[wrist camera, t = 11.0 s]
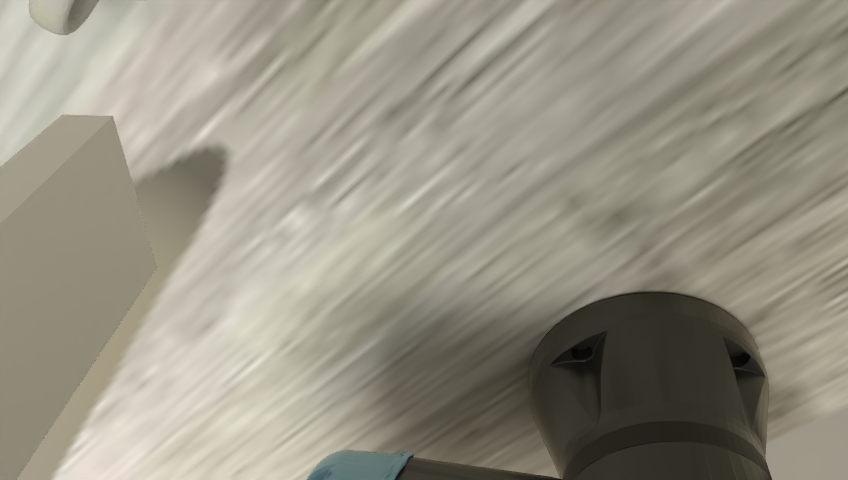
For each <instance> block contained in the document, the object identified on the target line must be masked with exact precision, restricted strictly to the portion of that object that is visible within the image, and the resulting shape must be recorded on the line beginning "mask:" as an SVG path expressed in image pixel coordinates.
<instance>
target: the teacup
mask: <svg viewBox="0 0 848 480" xmlns="http://www.w3.org/2000/svg"><path fill="white" fill-rule="evenodd" d="M98 1H99V0H30V1H29V13H30V16H31V18H32V19H33V20H34V21H35V22H36V23H37V24H38V25H39V26H40V27H42V28H44V29H46V30H48V31H50V32H52V33H55V34H58V35H68V34H70V33H72V32H74V31H76V30H77V29H78V28H79V27H80V26H81V25H82V24H83V22H84V21H85V20H86V19H87V18H88V16H89V15H90V14H91V12H92V11H93V9H94V7H95V6H96V4H97V3H98Z"/></svg>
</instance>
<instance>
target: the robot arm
mask: <svg viewBox="0 0 848 480" xmlns="http://www.w3.org/2000/svg"><path fill="white" fill-rule="evenodd" d="M156 268H157V266H156V262H155V259H154V255H153V252H152V248H151V245H150V242H149V238H148V235H147V231H146V228H145V225H144V221H143V218H142V214H141V211H140V208H139V204H138V201H137V197H136V194H135V190H134V187H133V184H132V180H131V177H130V173H129V170H128V166H127V163H126V160H125V156H124V153H123V149H122V146H121V143H120V139H119V136H118V132H117V129H116V125H115V122H114V119H113V116H90V115H62V116H60V117H59V118H58V119H57V120H56V121H54V122H53V123H52V124H51V125H50V126H49V127H47V128H46V129H45V130H44V131H43V132H41V133H40V134H39V135H38V136H37V137H36V138H34V139H33V140H32V141H31V142H30V143H28V144H27V145H26V146H25V147H24V148H23V149H21V150H20V151H19V152H18V153H17V154H15V155H14V156H13V157H12V158H11V159H10V160H8V161H7V162H6V163H5V164H4V165H2V166H1V167H0V480H17V478H18V477H19V475H20V474H21V472H22V471H23V469H24V468H25V466H26V465H27V463H28V462H29V460H30V459H31V457H32V456H33V454H34V452H35V451H36V450H37V448H38V446H39V445H40V444H41V442H42V441H43V439H44V438H45V436H46V435H47V433H48V431H49V430H50V428H51V427H52V425H53V424H54V422H55V421H56V419H57V418H58V416H59V415H60V413H61V412H62V410H63V409H64V407H65V406H66V404H67V403H68V401H69V400H70V398H71V397H72V395H73V394H74V392H75V391H76V389H77V387H78V386H79V385H80V383H81V381H82V380H83V379H84V377H85V376H86V374H87V373H88V371H89V370H90V368H91V366H92V365H93V364H94V362H95V361H96V359H97V357H98V356H99V354H100V353H101V351H102V350H103V348H104V347H105V345H106V344H107V342H108V341H109V339H110V338H111V336H112V335H113V333H114V332H115V330H116V329H117V327H118V326H119V324H120V323H121V321H122V320H123V318H124V317H125V315H126V314H127V312H128V311H129V309H130V308H131V306H132V305H133V303H134V301H135V300H136V299H137V297H138V296H139V294H140V293H141V291H142V289H143V288H144V287H145V285H146V283H147V282H148V280H149V279H150V277H151V276H152V274H153V273H154V271H155V270H156ZM529 388H530V405H531V410H532V414H533V417H534V420H535V422H536V425H537V427H538V429H539V431H540V434H541V436H542V438H543V440H544V442H545V445H546V447H547V449H548V451H549V453H550V456H551V458H552V460H553V462H554V464H555V467H556V469H557V471H558V473H559V475H560V478H561V479H557V478H552V477H548V476H541V475H533V474H526V473H519V472H512V471H505V470H498V469H491V468H484V467H476V466H469V465H462V464H455V463H448V462H441V461H434V460H427V459H420V458H414V454H413V453H412V452H403V453H402V454H400V455H399V454H388V453H377V452H366V451H355V450H344V451H339V452H336V453H333V454H331V455H329V456H327V457H326V458H325V459H323V460H322V461H321V462H320V463H319V464H318V465H317V466H316V467H315V468H314V469H313V471H312V472H311V474H310V475H309V476H308V478H307V480H772V478H771V475H770V472H769V469H768V466H767V463H766V460H765V453H766V436H767V419H768V401H769V384H768V377H767V373H766V369H765V366H764V364H763V361H762V359H761V356H760V354H759V351H758V348H757V346H756V344H755V341H754V340H753V338H752V336H751V335H750V333H749V332H748V331H747V329H746V328H745V327H744V326H743V325H742V324H741V323H740V322H739V321H738V320H737V319H735V318H734V317H733V316H732V315H730V314H729V313H727V312H725V311H724V310H722V309H720V308H718V307H716V306H714V305H712V304H709V303H707V302H704V301H701V300H698V299H695V298H691V297H686V296H681V295H674V294H664V293H642V294H631V295H625V296H619V297H615V298H611V299H607V300H603V301H600V302H597V303H595V304H592V305H590V306H587V307H585V308H583V309H581V310H579V311H577V312H575V313H573V314H572V315H570V316H568V317H567V318H565V319H564V320H563V321H561V322H560V323H559V324H557V325H556V326H555V327H554V328H553V329H552V330H551V331H550V332H549V333H548V334H547V335H546V336H545V337H544V339H543V340H542V341H541V343H540V344H539V346H538V348H537V349H536V351H535V353H534V355H533V358H532V361H531V365H530V371H529Z"/></svg>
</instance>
